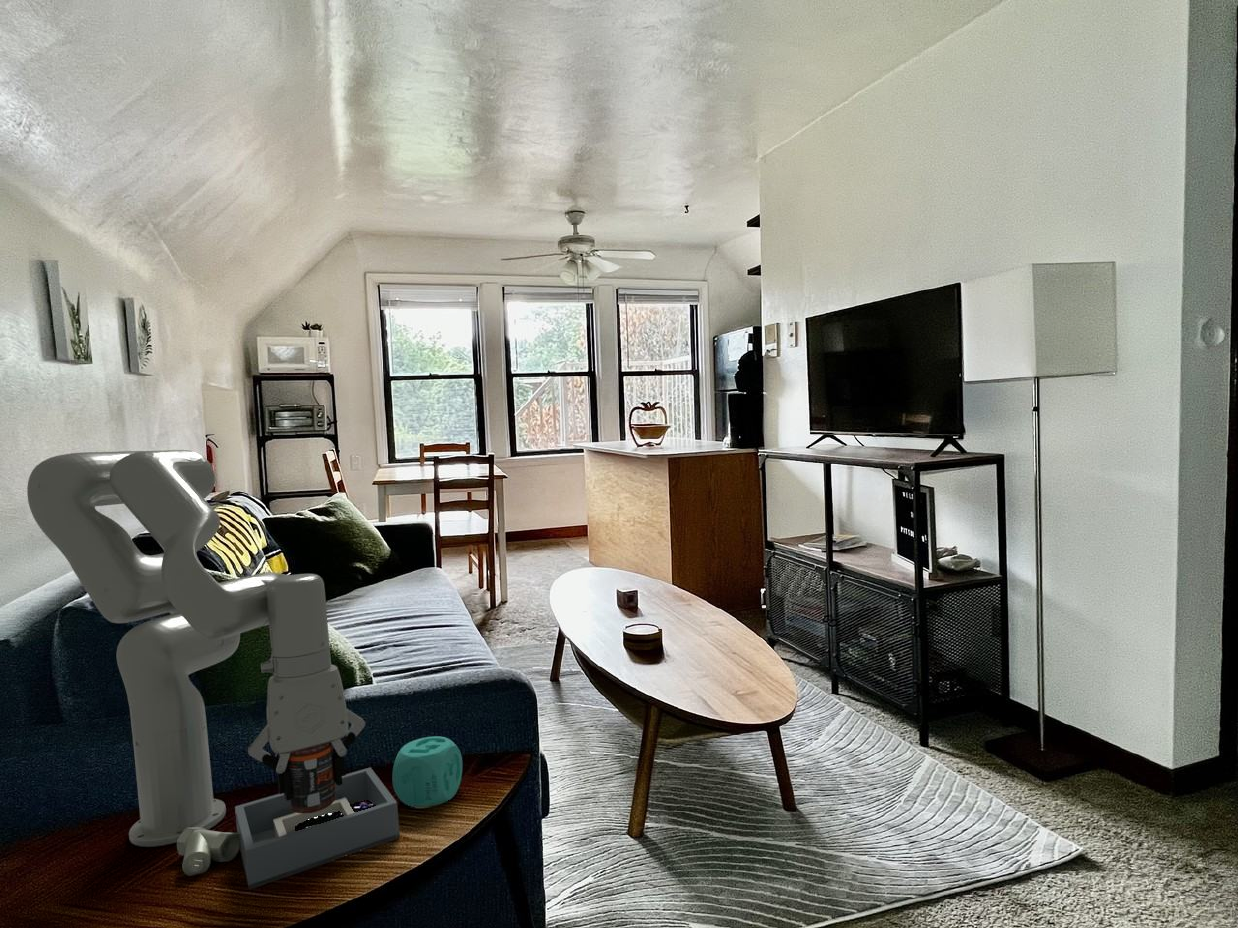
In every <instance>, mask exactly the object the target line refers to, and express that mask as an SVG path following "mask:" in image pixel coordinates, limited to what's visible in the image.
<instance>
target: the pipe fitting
mask: <svg viewBox="0 0 1238 928" xmlns="http://www.w3.org/2000/svg"><path fill="white" fill-rule="evenodd" d="M176 849H177V853H178V855H179V856H183V859H182V866H181V867H182V871H183V873H184V874H185V875H186V876H189V877H192V876H195V875H199V874H202V873H206V871H207V870H208V869H209V868H210V866H211V862H219V863H224V862H225V863H226V862H227V863H228V862H230V861H232V860H234V859H235V858H236V856H237V855H238V853H239V851H240V838H239V833H237V832H232V831H231V832H223V831H215V830H211V829H208V830H205V828H201V827H189V828H186V829H185V830H184V831H183V832H182V834H181V835H180V837H179V838H178V840H177V842H176Z"/></svg>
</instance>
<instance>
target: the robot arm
mask: <svg viewBox="0 0 1238 928" xmlns="http://www.w3.org/2000/svg"><path fill="white" fill-rule="evenodd" d="M215 483H216V474H215V470H214V468H213V466H212V464H211V463H210V461H209V460H208V459H207V458H206V457H205V456H203V455H202V454H200V453H198V452H196V451H193V450H189V449H188V450H187V449H176V450H175V449H172V450H169V449H167V450H129V451H128V450H125V451H122V450H121V451H95V452H94V451H93V452H92V451H90V452H89V451H87V452H84V451H83V452H73V453H66V454H59V455H55V456H52V457H49V458H47V459H45V460H43V461H41V462H39V464H36V466H34V468H33V469H32V470H31V473H30V475H29V477H28V482H27V487H26V488H27V490H26V491H27V495H26V497H27V502H28V507H29V509H30V512H31V515H32V517H33V519H34V520H35V522H36V524H37V526H38V528H40V530H41V531H42V533H44V535H45V537H47V538H48V539H49V540H50V541H51V543H53V545H55V546H56V548H57V549H58V550H59V551H60V552H61V554H62V555H63V556H64V557H65V559H66V560H67V562H68V563H69V565H70V566H71V568H72V571H73V572H74V573H75V574H74V575H76V577H77V579H79V580H78V581H80V584H81V585H82V587H83V588H84V589H85V591H86V593H87V595H88V596H89V598H90V599H91V602H93V604H94V606H95V607H96V608H97V610H98V612H99V613H100V615H102V617H103V618H104V619H106V620H107V621H108V622H110V623H114V624H127V623H132V622H138V621H140V620H145V619H150V618H153V617H155V616H159V615H163V614H167V613H169V614H168V615H166V616H162V617H157V618H153V619H151V620H147V621H145V622H143V623H140V624H139V625H136V626H134V627H133V628H131V629H130V630H128V631H127V632H126V633H125V634H124V635H123V636H122V637H121V639H120V641H119V643H118V645H117V648H116V663H117V668H118V670H119V673H120V676H121V679H122V682H123V684H124V685H123V686H124V688H125V691H126V696H127V702H128V706H129V716H130V724H131V733H132V734H131V735H132V743H133V753H134V762H135V763H134V764H135V775H136V785H137V787H136V788H137V796H138V807H139V818H140V819H139V820H138V821H136V822H134V824H133V825H132V826H131V827H130V829H129V832H128V837H129V838H128V839H129V841H130V843H131V844H133V845H135V846H137V847H144V848H152V847H153V848H155V847H161V846H167V845H172V844H177V840H178V838H179V837H180V835H181V834H182V832H183V831H184V830H185V829H186V828H189V827H201V828H205V830H211V829H212V828H213V827H215V826H216V825H218V824H219V823H220V822H221V821H222V820H223V819H224V818H225V816H226V813H227V808H226V804H225V802H224V801H223V800H221V799H219V798H218V799H217V798H214V792H213V790H214V789H213V781H212V780H213V779H212V769H211V768H212V767H211V760H210V759H211V758H210V749H209V737H208V727H207V726H208V725H207V716H206V706H205V702H204V698H203V696H202V695H201V692H200V690H198V688H197V687H196V686H195V685H194V684H193V682H192V681H191V680H190V677H189V676H190V675H191V674H193V673H195V672H197V671H200V670H203V669H206V668H209V667H211V666H214V665H216V664H218V663H221V662H223V661H225V660H227V659H229V658H230V657H232V656H233V654H234V653H236V651H237V649H238V647H239V644H240V641H241V634H242V633H247V632H248V631H251V630H254V629H259V628H261V627H265V626H267V625H268V627H269V628H268V629H269V640H270V649H271V650H270V651H271V654H270V658H269V660H267V661H265V662H261V663H260V670H261V673H262V674H264V673H271V675H272V676H270V677H269V679H268V682H267V694H266V695H267V696H266V725H265V727H264V728H263V729H262V730H261V732H260V733H259V734H258V735H257V737H256V738H255V739H254V740H253V742H252V743H251V744H250V746H248V748H247V753H248V755H249V756H250V757H251V758H254V759H255V760H257V761H259V762H261V763H262V764H264V765H265V766H266V767H269V768H270V769H272V770H274V771H275V772H276V776H277V779H276V780H277V790H278V794H283V793H284V796H285V798H286V800H287V801H288V800H291V799H292V789H291V777H290V771H289V769H288V759H289V756H290V753H291V752H295V751H299V750H303V749H307V748H311V747H314V746H318V745H322V744H326V743H329V742H331V743H332V755H333V767H334V780H335V783H336V785H338V786H339V785H342V776H345V775H346V774H347V772H346V760H345V756H346V754H347V752H348V750H349V748H350V747H351V746H352V745H353V743H354V742H355V740H356V738H357V736H359V734H360V733H361V732H362V731H363V729H364V728H365V726H366V721H365V720H364V719H363V718H362V717H361V716H358V714H356V713H354V712H353V711H352V710H350V709H349V708H347V705H346V703H347V702H346V698H345V693H344V687H343V683H342V678H341V674H340V670H339V669H338V668H339V667H338V666H337V665H335V664H332V660H331V648H330V636H329V635H330V634H329V623H328V614H327V613H328V612H327V610H328V609H327V603H326V601H327V600H326V599H327V598H326V590H325V582H324V579H323V577H321V576H320V575H318V574H317V573H316V574H315V573H298V574H291V575H290V574H283V573H279V572H270V571H269V572H260V573H256V574H252V575H247V576H242V577H238V578H234V579H230V580H226V581H221V582H218V581H217V580H216V579H215V578H214V577H213V576H212V575H211V574H210V573H209V572H208V571H207V569H206V568H205V567H204V566H203V564H202V563H201V561H200V560H199V557H198V554H197V552H198V551H200V550H201V549H203V548H204V547H205V546H206V545H207V544H208V543H209V542H210V541H211V540H212V539H213V538H214V537H215V535H216V534H217V532H218V531H219V529H220V525H221V518H220V515H219V514H218V512H217V511H216V510H215V508H213V507H212V506H211V504H209V502H208V501H207V500H206V499H205V498H207V497H208V496H210V494H211V493H212V492H213V491H214V488H215V486H216V484H215ZM123 504H124V505H125V507H126V508H127V509H128V510H129V512H130V513H131V514H132V515H133V516H134V517H135V519H137V520H138V522H139V523H140V525H142V527H144V529H145V530H146V531H147V532H148V533H149V534H150V536H151V537H152V538H153V539H154V540H155V541H156V542H157V544H159V546H160V547H161V548H162V550H163V553H159V554H153V555H149V554H148V555H147V554H144V553H143V552H141V551H140V549H139V548H138V547H137V545H136V544H135V542H134V541H133V539H132V538H131V536H130V534H129V533H128V531H127V530H125V528H124V527H122V526H121V525H120V524H119V523H117V521H115V520H113V519H112V518H110V517H108V516H107V515H105V514H103V513H101V512H99V511H98V510H97V509H96V507H103V506H105V507H106V506H112V505H123ZM349 724H351V725H350V727H349ZM267 743H269V746H270V748H271V750H272V752H274V754H275V755H274V754H272V753H271V752H269V751H266V750H265V749H263V748H264V747H265V746H266V744H267Z"/></svg>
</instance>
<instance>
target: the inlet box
mask: <svg viewBox="0 0 1238 928" xmlns="http://www.w3.org/2000/svg"><path fill="white" fill-rule="evenodd" d="M335 791H336V792H335V795H336V797H335V800H334V802H333V803H332V804H331V805H330V806H328V807H327V808H325V809H322V810H320V811H317V812H313V813H297V812H294V811H293V810H292V808H291V800H288V801H287V800H286V798H285V796H284V793H283V794H279V793H278V794H274V795H270V796H267V797H263V798H260V799H256V800H253V801H249V802H246V803H242V804H239V805H236V806H234V812H235V823H236V833H239V838H240V850H239V851H240V855H241V860H242V865H243V869H244V873H245V877H246V878H245V879H246V882H247V886H248V890H249V891H250V890H253V889H256V888H259V887H261V886H264V885H267V884H269V883H273V882H276V881H278V880H282V879H285V878H287V877H290V876H293V875H295V874H296V875H297V874H299V873H302V872H304V871H307V870H310V869H313V868H316V867H319V866H322V865H325V864H328V863H330V862H331V863H332V862H334V861H336V860H335V859H337V860H339V859H338V858H340V857H342V856H345V855H349V854H351V855H353V854H352V853H354V854H356V853H355V852H357V853H359V852H358V851H360V850H363V851H365V850H364V849H366V850H368V849H367V848H369V849H371V848H370V847H372V848H374V846H375V847H377V846H381V845H384V844H386V843H388V842H392V841H394V840H398V839H400V838H401V834H400V823H399V811H398V810H399V808H398V802H397V800H396V799H395V798H394V795H392V794H391V793H390V792H391V791H389V790H388V788H387V787H386V786H385V785H384V783H383V782H382V780H381V779H380V778H379V776H378V775H377V774H376V773H375V771H374V770H373V769H372V767H371V766H369V767H368V768H364V769H359V770H357V771H353V772H349V773H346V775H345V776H342V785H339V786H338V785H336V783H335ZM364 800H365V801H366V800H369V801H370V802H372V803H373V804H375V805H376V806H374V807H371V808H368V809H365V810H361V811H358V812H354V811H353V809H352V807H351V806H350V804H354V803H355V802H361V801H364ZM338 811H341V812H342V813H343V815H344V816H343V817H339V818H336V819H333V820H330V821H327V822H324V823H321V824H317V825H314V826H311V827H308V828H305V829H302V830H298V831H295V826H297V825H298V824H299V823H302V822H304V821H306V820H308V819H310V818H313V817H317V816H321V815H324V814H327V813H334V812H338ZM376 845H377V846H376ZM360 852H361V851H360ZM349 856H350V855H349ZM340 859H341V858H340ZM333 860H334V861H333Z"/></svg>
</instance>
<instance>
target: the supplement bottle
mask: <svg viewBox="0 0 1238 928" xmlns="http://www.w3.org/2000/svg"><path fill="white" fill-rule="evenodd" d="M332 752H333V745H332V743H331V742H329V743H326V744H322V745H318V746H314V747H311V748H307V749H303V750H299V751H295V752H291V753H290V756H289V759H288V762H287V767H288V769H289V771H290V777H291V789H292V799H291V808H292V810H293V811H294V812H297V813H313V812H317V811H320V810H322V809H325V808H327V807H328V806H330V805H331V804H332V803H333V802H334V800H335V797H336V795H335V792H336V791H335V780H334V767H333V755H332Z"/></svg>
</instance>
